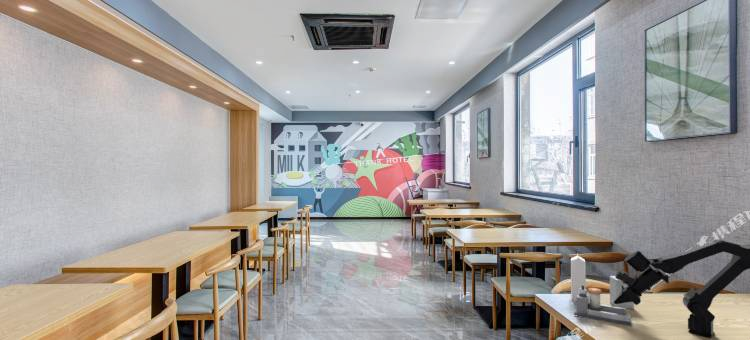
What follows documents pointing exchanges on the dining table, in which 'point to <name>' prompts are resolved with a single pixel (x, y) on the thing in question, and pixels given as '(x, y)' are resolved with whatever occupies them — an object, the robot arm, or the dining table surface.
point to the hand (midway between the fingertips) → (614, 303)
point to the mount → (601, 312)
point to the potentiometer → (582, 291)
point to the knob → (594, 299)
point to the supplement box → (616, 290)
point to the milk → (577, 275)
